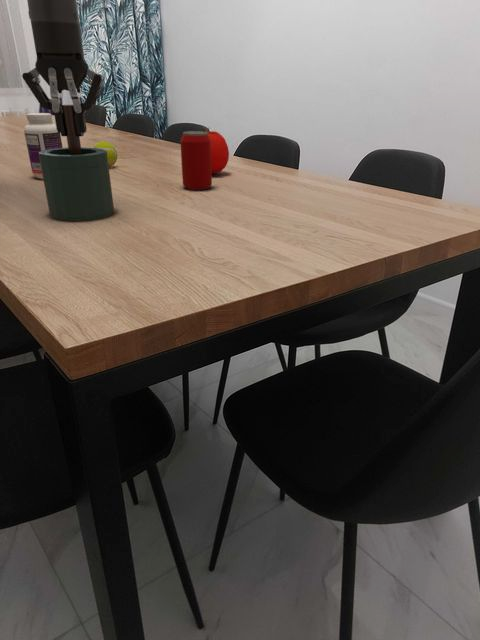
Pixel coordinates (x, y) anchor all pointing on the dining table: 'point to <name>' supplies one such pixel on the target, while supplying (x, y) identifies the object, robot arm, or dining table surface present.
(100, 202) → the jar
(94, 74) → the robot arm
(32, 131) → the pill bottle
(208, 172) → the beverage can
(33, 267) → the dining table surface
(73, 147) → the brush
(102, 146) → the tennis ball
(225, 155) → the tomato
